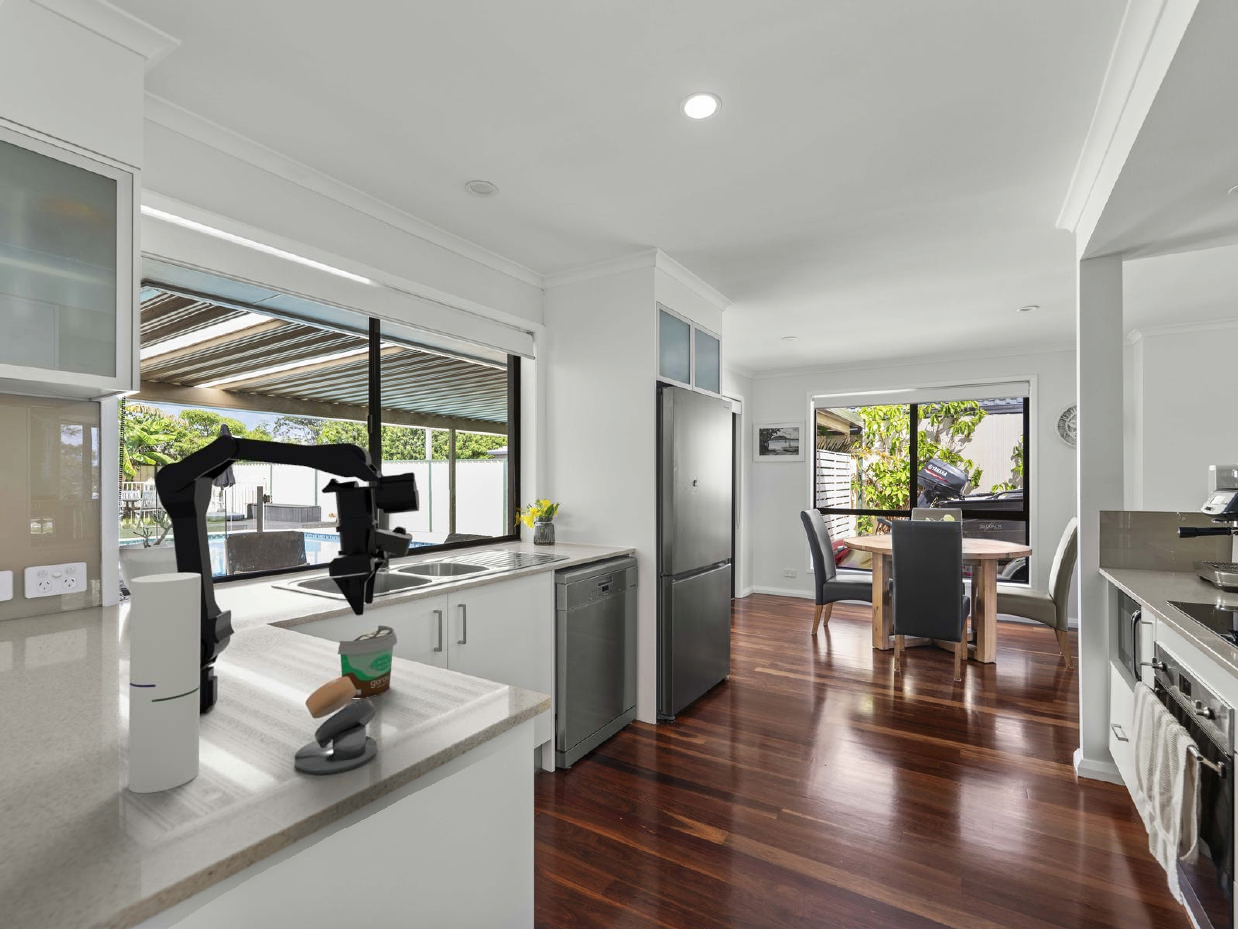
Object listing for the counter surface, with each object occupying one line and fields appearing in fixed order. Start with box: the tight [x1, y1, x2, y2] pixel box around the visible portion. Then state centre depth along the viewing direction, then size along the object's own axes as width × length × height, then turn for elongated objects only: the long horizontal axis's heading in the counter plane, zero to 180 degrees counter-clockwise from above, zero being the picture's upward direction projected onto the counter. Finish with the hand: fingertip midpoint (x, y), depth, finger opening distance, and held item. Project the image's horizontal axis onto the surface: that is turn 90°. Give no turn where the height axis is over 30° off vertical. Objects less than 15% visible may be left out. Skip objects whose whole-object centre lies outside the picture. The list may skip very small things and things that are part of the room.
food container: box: [337, 624, 398, 699], centre depth 111 cm, size 12×6×10 cm, turn 168°
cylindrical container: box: [127, 572, 201, 794], centre depth 79 cm, size 7×7×25 cm
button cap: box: [305, 676, 357, 720], centre depth 86 cm, size 6×6×6 cm
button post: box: [294, 699, 378, 776], centre depth 85 cm, size 10×10×8 cm
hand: (364, 609), depth 108 cm, fingers open, 9 cm apart
